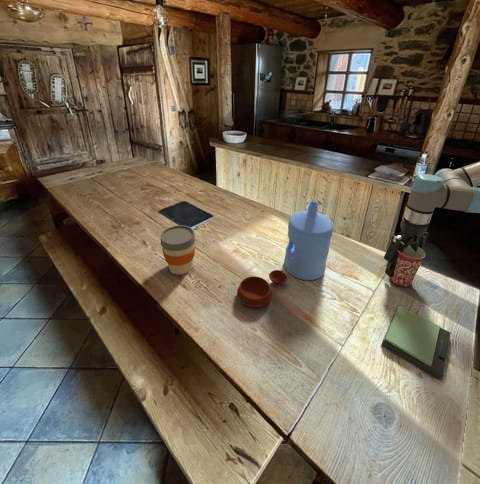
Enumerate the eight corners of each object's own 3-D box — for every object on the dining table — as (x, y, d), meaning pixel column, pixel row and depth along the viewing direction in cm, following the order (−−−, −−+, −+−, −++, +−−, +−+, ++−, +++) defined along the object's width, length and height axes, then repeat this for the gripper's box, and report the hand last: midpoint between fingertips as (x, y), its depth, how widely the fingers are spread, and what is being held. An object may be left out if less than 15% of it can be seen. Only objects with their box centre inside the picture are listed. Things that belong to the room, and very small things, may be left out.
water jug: (329, 263, 106) (342, 201, 94) (316, 287, 94) (329, 220, 82) (293, 249, 114) (301, 190, 102) (277, 270, 102) (283, 206, 90)
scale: (448, 337, 78) (451, 330, 77) (440, 380, 67) (444, 374, 66) (395, 310, 86) (398, 304, 85) (381, 345, 75) (383, 338, 74)
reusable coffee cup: (201, 271, 101) (199, 239, 94) (168, 282, 96) (164, 248, 89) (191, 252, 111) (189, 221, 104) (161, 261, 106) (156, 229, 99)
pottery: (230, 293, 91) (230, 284, 89) (272, 269, 102) (273, 260, 100) (251, 317, 83) (252, 307, 81) (295, 288, 94) (296, 279, 92)
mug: (419, 289, 93) (431, 258, 88) (393, 288, 94) (403, 257, 88) (401, 265, 105) (411, 236, 99) (378, 264, 105) (386, 236, 99)
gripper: (429, 209, 95) (411, 260, 104) (381, 218, 89) (367, 271, 99) (449, 220, 88) (428, 273, 98) (400, 231, 82) (382, 285, 92)
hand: (397, 272), depth 98 cm, fingers closed on mug, 8 cm apart
